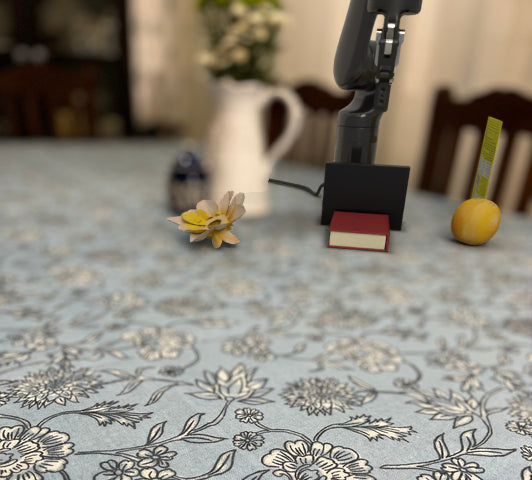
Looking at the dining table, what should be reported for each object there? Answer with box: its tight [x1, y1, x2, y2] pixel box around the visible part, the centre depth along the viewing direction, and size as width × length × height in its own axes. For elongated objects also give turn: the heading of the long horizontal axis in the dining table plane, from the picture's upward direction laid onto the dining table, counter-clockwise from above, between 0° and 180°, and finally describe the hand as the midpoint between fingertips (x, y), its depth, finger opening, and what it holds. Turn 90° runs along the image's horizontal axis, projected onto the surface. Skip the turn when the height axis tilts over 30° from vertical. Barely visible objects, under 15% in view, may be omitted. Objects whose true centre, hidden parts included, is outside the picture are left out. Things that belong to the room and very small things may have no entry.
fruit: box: [450, 198, 502, 246], centre depth 95 cm, size 9×8×8 cm
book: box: [327, 211, 391, 253], centre depth 96 cm, size 14×10×3 cm
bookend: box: [320, 160, 411, 232], centre depth 104 cm, size 7×16×12 cm, turn 80°
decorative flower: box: [165, 190, 247, 250], centre depth 91 cm, size 15×11×10 cm
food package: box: [470, 116, 504, 199], centre depth 109 cm, size 15×1×20 cm, turn 168°
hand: (380, 111), depth 79 cm, fingers closed
